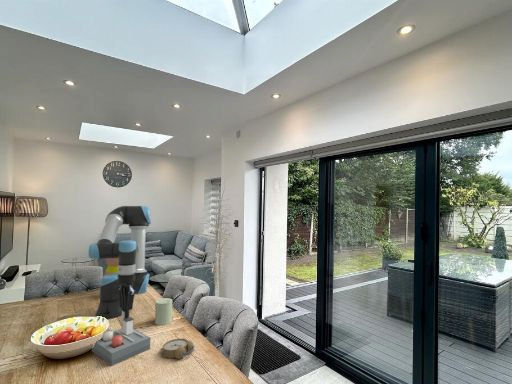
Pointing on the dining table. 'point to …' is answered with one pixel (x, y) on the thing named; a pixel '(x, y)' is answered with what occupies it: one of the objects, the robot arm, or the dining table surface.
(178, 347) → the alarm clock
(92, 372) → the dining table surface
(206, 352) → the dining table surface
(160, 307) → the can
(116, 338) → the button red
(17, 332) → the dining table surface
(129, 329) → the slider knob
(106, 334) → the button cream
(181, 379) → the dining table surface
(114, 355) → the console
